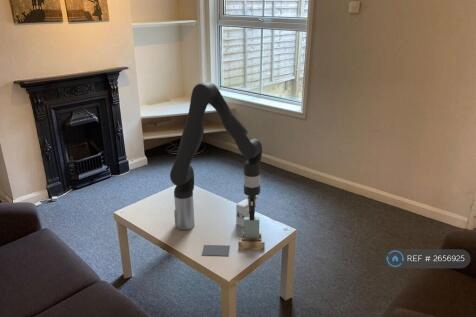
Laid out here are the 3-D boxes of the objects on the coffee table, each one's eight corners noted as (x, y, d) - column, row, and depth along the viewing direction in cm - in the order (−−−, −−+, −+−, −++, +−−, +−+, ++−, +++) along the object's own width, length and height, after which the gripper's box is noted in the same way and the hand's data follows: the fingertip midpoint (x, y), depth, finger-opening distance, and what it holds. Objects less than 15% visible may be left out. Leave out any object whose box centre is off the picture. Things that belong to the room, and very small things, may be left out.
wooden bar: (238, 249, 174) (238, 243, 173) (238, 248, 175) (238, 241, 174) (264, 250, 173) (264, 243, 172) (264, 248, 175) (264, 242, 174)
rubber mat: (201, 255, 170) (201, 254, 170) (204, 245, 177) (204, 244, 177) (228, 256, 169) (228, 255, 169) (229, 246, 177) (229, 245, 176)
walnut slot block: (241, 243, 178) (241, 239, 177) (242, 237, 184) (242, 232, 183) (261, 244, 178) (261, 239, 177) (261, 237, 183) (261, 233, 182)
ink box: (245, 217, 201) (245, 197, 197) (253, 220, 199) (253, 200, 195) (235, 224, 195) (235, 204, 191) (243, 227, 192) (243, 206, 188)
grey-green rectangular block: (244, 242, 180) (244, 219, 176) (244, 239, 182) (244, 217, 178) (259, 242, 179) (259, 219, 175) (259, 239, 182) (259, 217, 178)
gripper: (244, 177, 177) (244, 208, 183) (242, 189, 164) (243, 223, 170) (260, 177, 177) (260, 208, 182) (260, 190, 164) (260, 223, 169)
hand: (252, 215), depth 176 cm, fingers open, 8 cm apart
